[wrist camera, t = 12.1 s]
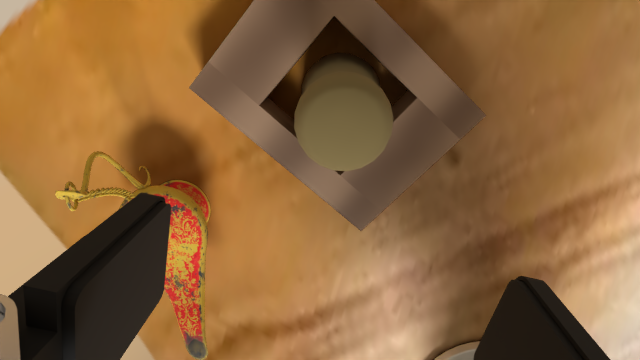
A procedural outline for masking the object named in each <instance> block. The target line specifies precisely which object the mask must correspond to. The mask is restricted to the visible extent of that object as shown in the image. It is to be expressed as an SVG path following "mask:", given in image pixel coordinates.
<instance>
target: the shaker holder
mask: <svg viewBox="0 0 640 360" xmlns="http://www.w3.org/2000/svg"><path fill="white" fill-rule="evenodd" d="M334 17H335V18H336V19H337V20H338V21H339V22H340V23H341V24H342V25H343V26H344V27H345V28H346V29H347V30H348V31H349V32H350V33H351V34H352V35H353V36H354V37H355V38H356V39H357V40H358V41H359V42H360V43H361V44H362V45H363V46H364V47H365V48H366V49H367V50H368V51H369V52H370V53H371V54H372V55H373V56H374V57H375V58H376V59H377V60H378V61H379V62H380V63H381V64H382V65H383V66H384V67H385V68H386V69H387V70H388V71H389V72H390V73H392V74H393V75H394V76H395V77H396V78H397V79H398V80H399V81H400V82H401V83H402V84H403V85H404V86H405V87H406V88H407V89H408V91H407V92H406V93H405V94H404V95H403V96H402V97H401V98H400V99H399V100H398V101H397V102H396V103H395V104H394V105H393V106H392V107H391V109H392V114H393V127H392V134H391V137H390V139H389V141H388V143H387V145H386V147H385V149H384V151H383V152H382V153H381V154H380V155H379V156H378V157H377V158H376V159H375V160H374V161H373V162H371V163H369V164H368V165H366V166H364V167H362V168H359V169H355V170H351V171H334V170H330V169H328V168H325V167H322V166H320V165H318V164H317V163H316V162H314V161H313V160H312V159H311V158H309V157H308V156H307V154H306V153H305V151H304V150H303V149H302V147H301V146H300V144H299V143H298V139H297V136H296V133H295V129H294V120H293V119H292V118H291V117H290V116H289V115H288V114H286V113H285V112H284V111H283V110H282V109H281V108H280V107H278V106H277V105H276V104H275V103H274V102H273V101H272V100H270V99H269V98H268V96H269V95H270V94H271V92H272V91H273V90H274V89H275V88H276V86H277V85H278V84H279V83H280V82H281V80H282V79H283V78H284V77H285V76H286V74H287V73H288V72H289V71H290V70H291V68H292V67H293V66H294V65H295V64H296V62H297V61H298V60H299V59H300V58H301V56H302V55H303V54H304V53H305V52H306V50H307V49H308V48H309V47H310V46H311V44H312V43H313V42H314V41H315V40H316V38H317V37H318V36H319V35H320V34H321V32H322V31H323V30H324V29H325V28H326V26H327V25H328V24H329V23H330V22H331V20H332V19H333V18H334ZM189 88H190V89H191V90H192V91H193V92H194V93H196V94H197V95H198V96H199V97H201V98H202V99H203V100H204V101H205V102H207V103H208V104H209V105H210V106H211V107H213V108H214V109H215V110H216V111H217V112H219V113H220V114H221V115H222V116H223V117H225V118H226V119H227V120H228V121H229V122H231V123H232V124H233V125H234V126H235V127H237V128H238V129H239V130H240V131H241V132H243V133H244V134H245V135H246V136H247V137H249V138H250V139H251V140H252V141H253V142H255V143H256V144H257V145H258V146H259V147H261V148H262V149H263V150H264V151H265V152H267V153H268V154H269V155H270V156H271V157H273V158H274V159H275V160H276V161H277V162H279V163H280V164H281V165H282V166H283V167H285V168H286V169H287V170H288V171H289V172H291V173H292V174H293V175H294V176H295V177H297V178H298V179H299V180H300V181H301V182H303V183H304V184H305V185H306V186H307V187H309V188H310V189H311V190H312V191H313V192H315V193H316V194H317V195H318V196H319V197H321V198H322V199H323V200H324V201H325V202H327V203H328V204H329V205H330V206H331V207H333V208H334V209H335V210H336V211H338V212H339V213H340V214H341V215H342V216H344V217H345V218H346V219H347V220H348V221H350V222H351V223H352V224H353V225H354V226H356V227H357V228H358V229H359V230H360V231H362V230H363V229H364V228H365V227H366V226H367V225H368V224H369V223H370V222H371V221H373V220H374V219H375V218H376V217H377V216H378V215H379V214H380V213H381V212H382V211H383V210H384V209H386V208H387V207H388V206H389V205H390V204H391V203H392V202H393V201H394V200H395V199H396V198H397V197H399V196H400V195H401V194H402V193H403V192H404V191H405V190H406V189H407V188H408V187H409V186H410V185H412V184H413V183H414V182H415V181H416V180H417V179H418V178H419V177H420V176H421V175H422V174H424V173H425V172H426V171H427V170H428V169H429V168H430V167H431V166H432V165H433V164H434V163H435V162H437V161H438V160H439V159H440V158H441V157H442V156H443V155H444V154H445V153H446V152H447V151H448V150H450V149H451V148H452V147H453V146H454V145H455V144H456V143H457V142H458V141H459V140H460V139H461V138H463V137H464V136H465V135H466V134H467V133H468V132H469V131H470V130H471V129H472V128H473V127H474V126H476V125H477V124H478V123H479V122H480V121H481V120H482V119H483V118H484V117H485V116H486V115H485V114H484V113H483V112H482V111H481V109H480V108H479V107H478V106H477V105H476V104H475V103H474V102H473V101H472V100H471V99H470V98H469V97H468V96H467V95H466V94H465V93H464V92H463V91H462V90H461V89H460V88H459V87H458V86H457V85H456V84H455V83H454V82H453V81H452V80H451V79H450V78H449V77H448V76H447V74H446V73H445V72H444V71H443V70H442V69H441V68H440V67H439V66H438V65H437V64H436V63H435V62H434V61H433V60H432V59H431V58H430V57H429V56H428V55H427V54H426V53H425V52H424V51H423V50H422V49H421V48H420V47H419V46H418V45H417V44H416V43H415V42H414V41H413V39H412V38H411V37H410V36H409V35H408V34H407V33H406V32H405V31H404V30H403V29H402V28H401V27H400V26H399V25H398V24H397V23H396V22H395V21H394V20H393V19H392V18H391V17H390V16H389V15H388V14H387V13H386V12H385V11H384V10H383V9H382V8H381V7H380V6H379V4H378V3H377V2H376V1H375V0H254V1H253V2H252V4H251V5H250V6H249V8H248V9H247V10H246V12H245V13H244V14H243V16H242V17H241V18H240V20H239V21H238V22H237V24H236V25H235V26H234V28H233V29H232V30H231V32H230V33H229V34H228V36H227V37H226V38H225V40H224V41H223V42H222V44H221V45H220V47H219V48H218V49H217V51H216V52H215V53H214V55H213V56H212V57H211V59H210V60H209V61H208V63H207V64H206V65H205V67H204V68H203V69H202V71H201V72H200V73H199V75H198V76H197V77H196V79H195V80H194V81H193V83H192V84H191V85H190V87H189Z"/></svg>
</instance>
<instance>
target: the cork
mask: <svg viewBox="0 0 640 360" xmlns="http://www.w3.org/2000/svg"><path fill="white" fill-rule="evenodd" d="M392 127H393V114H392V109H391V104H390V102H389V100H388V98H387V97H386V95H385V93H384V91H383V90H382V89H381V88H380V83H379V78H378V76H377V75H376V73H375V71H374V70H373V68H372V67H371V66H370V65H369V64H368V63H367V62H366V61H365V60H364V59H362V58H360V57H358V56H355V55H353V54H350V53H335V54H331V55H328V56H324V57H323V58H322V59H320V60H319V61H317V62H316V63H314V64H313V66H312V67H311V68H310V69H309V71H308V72H307V73H306V75H305V78H304V81H303V84H302V92H301V97H300V99H299V102H298V105H297V108H296V110H295V117H294V129H295V133H296V136H297V139H298V143H299V144H300V146H301V147H302V149H303V150H304V151H305V153H306V154H307V156H308V157H309V158H311V159H312V160H313V161H314V162H316V163H317V164H318V165H320V166H322V167H325V168H328V169H330V170H334V171H351V170H355V169H359V168H362V167H364V166H366V165H368V164H369V163H371V162H373V161H374V160H375V159H376V158H377V157H378V156H379V155H380V154H381V153H382V152H383V151H384V149H385V147H386V145H387V143H388V141H389V139H390V137H391V134H392Z"/></svg>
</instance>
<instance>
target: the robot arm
mask: <svg viewBox="0 0 640 360" xmlns="http://www.w3.org/2000/svg"><path fill="white" fill-rule="evenodd" d="M170 218H171V205H170V204H168V203H166V202H165V198H164V197H161V196H157V195H152V194H147V193H143V192H141V193H139V194H138V195H137V196H135V197H134V198H133V199H132V200H130V201H129V202H128V203H127V204H125V205H124V206H123V207H122V208H120V209H119V210H118V211H117V212H115V213H114V214H113V215H111V216H110V217H109V218H108V219H106V220H105V221H104V222H103V223H101V224H100V225H99V226H98V227H96V228H95V229H94V230H93V231H91V232H90V233H89V234H87V235H86V236H84V237H83V238H81V239H80V240H79V241H78V242H76V243H75V244H74V245H73V246H71V247H70V248H69V249H67V250H66V251H65V252H64V253H63V254H61V255H60V256H59V257H57V258H56V259H55V260H54V261H52V262H51V263H50V264H49V265H47V266H46V267H45V268H43V269H42V270H41V271H40V272H39V273H37V274H36V275H35V276H33V277H32V278H31V279H30V280H28V281H27V282H26V283H24V284H23V285H22V286H21V287H19V288H18V289H17V290H16V291H14V292H13V293H12V294H11V295H9V296H8V297H7V296H5V295H2V294H0V360H120V358H121V357H122V356H123V354H124V353H125V351H126V350H127V348H128V347H129V345H130V344H131V342H132V341H133V339H134V338H135V336H136V335H137V333H138V332H139V330H140V329H141V327H142V326H143V324H144V323H145V321H146V320H147V319H148V317H149V316H150V314H151V313H152V311H153V310H154V308H155V307H156V305H157V304H158V302H159V301H160V299H161V297H162V294H163V291H164V285H165V274H166V263H167V251H168V240H169V229H170ZM434 360H610V359H609V358H608V356H607V355H606V354H605V353H604V352H603V350H602V349H601V348H600V347H599V346H598V344H597V343H596V342H595V341H594V340H593V339H592V337H591V336H590V335H589V334H588V333H587V331H586V330H585V329H584V328H583V327H582V325H581V324H580V323H579V322H578V321H577V320H576V318H575V317H574V316H573V315H572V314H571V312H570V311H569V310H568V309H567V308H566V306H565V305H564V304H563V303H562V302H561V300H560V299H559V298H558V297H557V296H556V295H555V293H554V292H553V291H552V290H551V289H550V287H549V286H548V285H547V284H546V283H545V282H544V281H542V280H538V279H533V278H529V277H524V276H519V277H518V278H516V279H515V280H511V281H510V282H509V284H508V285H507V287H506V289H505V292H504V294H503V296H502V298H501V300H500V302H499V304H498V306H497V308H496V310H495V312H494V314H493V316H492V318H491V320H490V322H489V324H488V326H487V328H486V330H485V333H484V335H483V337H482V339H481V341H478V342H471V343H466V344H463V345H460V346H456V347H454V348H452V349H450V350H448V351H446V352H444V353H443V354H441V355H440V356H438V357H437V358H435V359H434Z"/></svg>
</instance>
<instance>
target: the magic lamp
mask: <svg viewBox="0 0 640 360" xmlns="http://www.w3.org/2000/svg"><path fill="white" fill-rule="evenodd" d="M98 156H99V157H102V158H104V159H106V160H107V161H109V162H110V163H111V164H112V165H113V166H115V167H116V168H117V169H118V170H119V171H120V172H121V173H122V174H123V175H124V176H125V177H126V178H127V179H128V180H129V181H130V182H131V183H132V184H133V185H134V186H135V187H136V188H138V190H136V191H135V192H133V193H132V194H131V192H128V190H124V189H122V190H121V188H119V189H117V187H116V188H113V187H112V188H110V189H109V188H106V189H104V188H102V189H101V190H100V189H96V191H94V190H91V191H90V192H88V191H87V190H88V184H89V177H90V171H91V166H92V163H93V161H94V159H95V158H96V157H98ZM142 167H143V168H144V169H145V170H146V172H147V175H148V180H147V182H146V184H145V185H144V184H142V183H140V182H139V181H138V180H136V179H135V178H134V177H133V176H132V175H131V174H130V173H129V172H127V171H126V170H125V169H124V168H123V167H122V166H121V165H120V164H119V163H117V162H116V161H115V160H114V159H113V158H111V157H110V156H109V155H107V154H105V153H103V152H99V151H97V152H94V153H92V154H91V155H90V156H89V158H88V160H87V162H86V166H85V170H84V176H83V183H82V187H81V190H80V191H77V190H76V187H75V185H74V184H73V183H72V182H68V183H67V184H66V186H65V191H56V197H57V198H59V199H64V200H66V204H67V206H68V208H69V209H70V210H71V211H75V210H76V209H77V206H78V202H81V201H83V200H88V199H91V198H95V197H99V196H108V195H110V196H111V195H114V196H115V195H116V196H121V197H123V198H125V200H124V201H123V202H122V204H121V206H120V208H122V207H123V206H124V205H125V204H127V203H128V202H129V201H130V200H132V199H133V198H134V197H135V196H137V195H138V194H139V193H141V192H143V193H147V194H152V195H157V196H161V197H164V198H165V202H166V203H168V204H170V205H171V218H170V229H169V240H168V251H167V263H166V274H165V285H164V290H165V292H166V293H167V295H168V297H169V299H170V301H171V304H172V306H173V309H174V312H175V315H176V318H177V321H178V324H179V327H180V330H181V333H182V336H183V339H184V342H185V345H186V348H187V351H188V352H189V354H190V355H191V356H192V357H193V358H195V359H199V360H204V359H205V358H206V357H207V355H208V350H207V345H206V336H205V261H206V248H207V240H208V228H207V222H208V220H209V217H210V212H211V209H210V204H209V200H208V199H207V197H206V195H205V194H204V192H203V191H202V190H201V189H200V188H198V187H197V186H196V185H194V184H192V183H190V182H187V181H183V180H171V181H167V182H165V183H163V184H161V185H160V186H159V185H155V186H150V185H151V178H150V173H149V171H148V169H147V168H146V167H145V166H140V167H139V171H140V168H142ZM69 186H71V187H72V190H69ZM119 190H120V191H119ZM97 191H98V192H97ZM122 191H123V192H122ZM92 192H93V193H92ZM125 192H126V193H125ZM128 193H129V194H128ZM71 199H72V201H73V202H74V207H72V206H71V203H70V200H71ZM78 199H80V200H78ZM120 208H119V209H120Z"/></svg>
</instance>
